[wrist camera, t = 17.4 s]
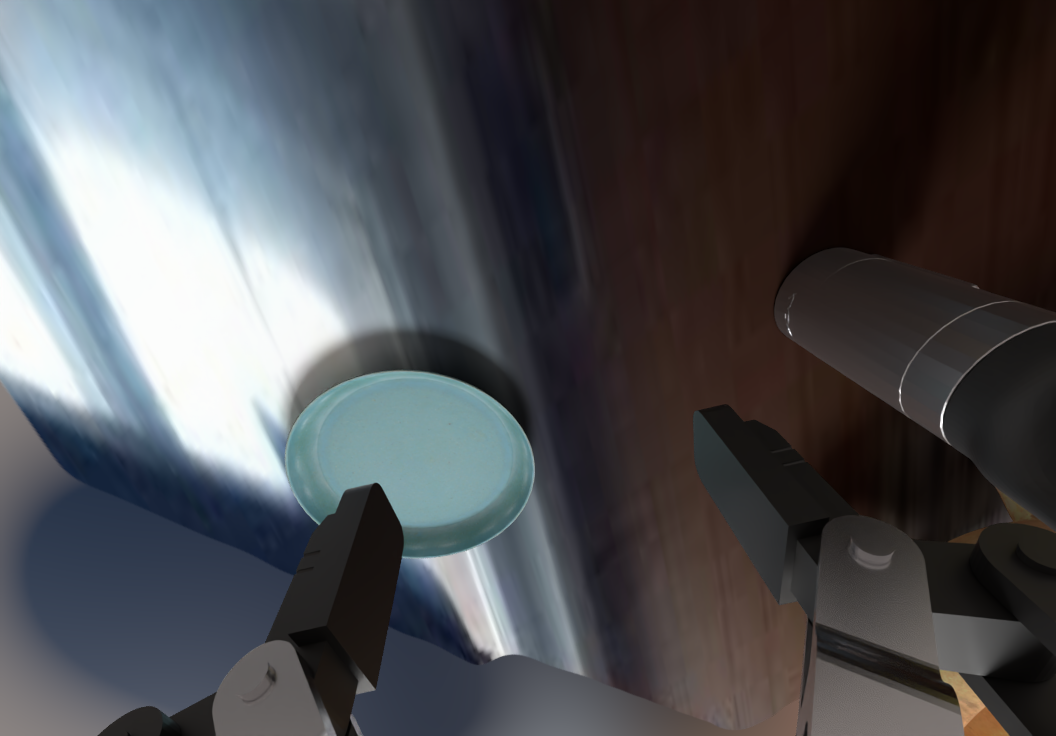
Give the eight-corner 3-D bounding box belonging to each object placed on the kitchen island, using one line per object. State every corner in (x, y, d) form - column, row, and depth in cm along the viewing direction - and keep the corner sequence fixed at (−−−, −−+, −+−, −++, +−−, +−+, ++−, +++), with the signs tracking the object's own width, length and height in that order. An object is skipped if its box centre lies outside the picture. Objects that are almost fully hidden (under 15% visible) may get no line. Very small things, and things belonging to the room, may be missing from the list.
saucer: (380, 304, 38) (371, 318, 35) (577, 438, 47) (583, 458, 44) (253, 474, 45) (237, 498, 42) (444, 562, 54) (442, 586, 51)
